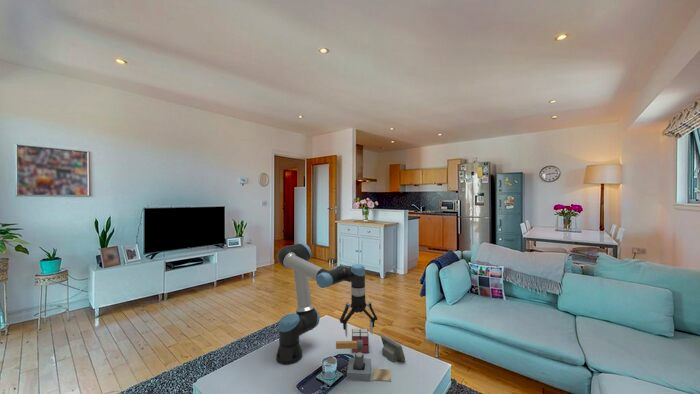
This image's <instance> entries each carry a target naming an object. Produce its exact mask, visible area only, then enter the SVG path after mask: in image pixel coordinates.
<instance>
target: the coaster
mask: <svg viewBox="0 0 700 394" xmlns="http://www.w3.org/2000/svg"><path fill="white" fill-rule="evenodd" d="M372 376H373V377H372V381H374V382H379V381H380V382H392V379H391V377H392V376H391V369H387V368H385V369H383V368H373V372H372Z"/></svg>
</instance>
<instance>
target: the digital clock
mask: <svg viewBox="0 0 700 394" xmlns="http://www.w3.org/2000/svg"><path fill="white" fill-rule="evenodd" d="M380 338H381V343H382V346H383V347H382V356H383V357H384V358H386V359H387V360H389V361H390V362H392V363H395V362H398V361H401V362H405V361H406V356H405V353H404V349H403V346H402V344H401V343H399V342H397V341H396V340H394V339H393V338H391V337H389V336H387V335H385V334H381V335H380Z"/></svg>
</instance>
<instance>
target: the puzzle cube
mask: <svg viewBox="0 0 700 394" xmlns="http://www.w3.org/2000/svg"><path fill="white" fill-rule="evenodd" d="M357 340H363V348H362V354H367V353H368V354H369V353H370V351H369V349H370V347H369V343H370V342H369V330H368V328H352V329H351V341H357ZM351 352H352V353H353V354H356V353H357V352H358V349H351Z"/></svg>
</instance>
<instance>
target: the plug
mask: <svg viewBox="0 0 700 394" xmlns="http://www.w3.org/2000/svg"><path fill="white" fill-rule="evenodd" d="M354 358H355V369H354V370H364V358H365V357H364V353H361V352H357V353H354Z"/></svg>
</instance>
